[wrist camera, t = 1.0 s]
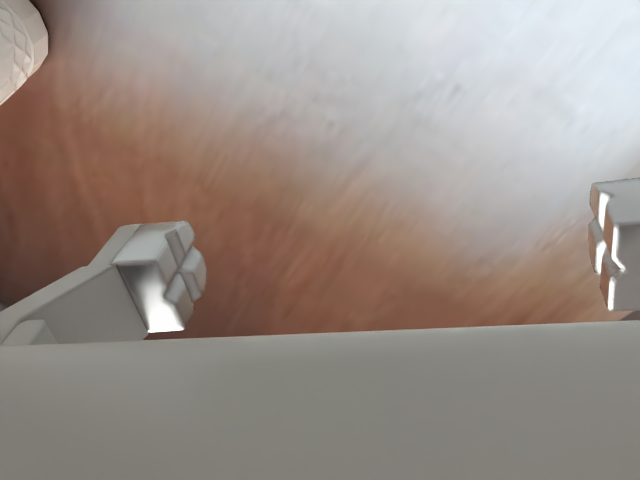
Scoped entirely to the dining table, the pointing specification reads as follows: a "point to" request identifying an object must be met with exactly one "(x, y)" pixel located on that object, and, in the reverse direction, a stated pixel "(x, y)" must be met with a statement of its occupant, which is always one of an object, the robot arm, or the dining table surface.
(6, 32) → the white cup
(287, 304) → the dining table surface
